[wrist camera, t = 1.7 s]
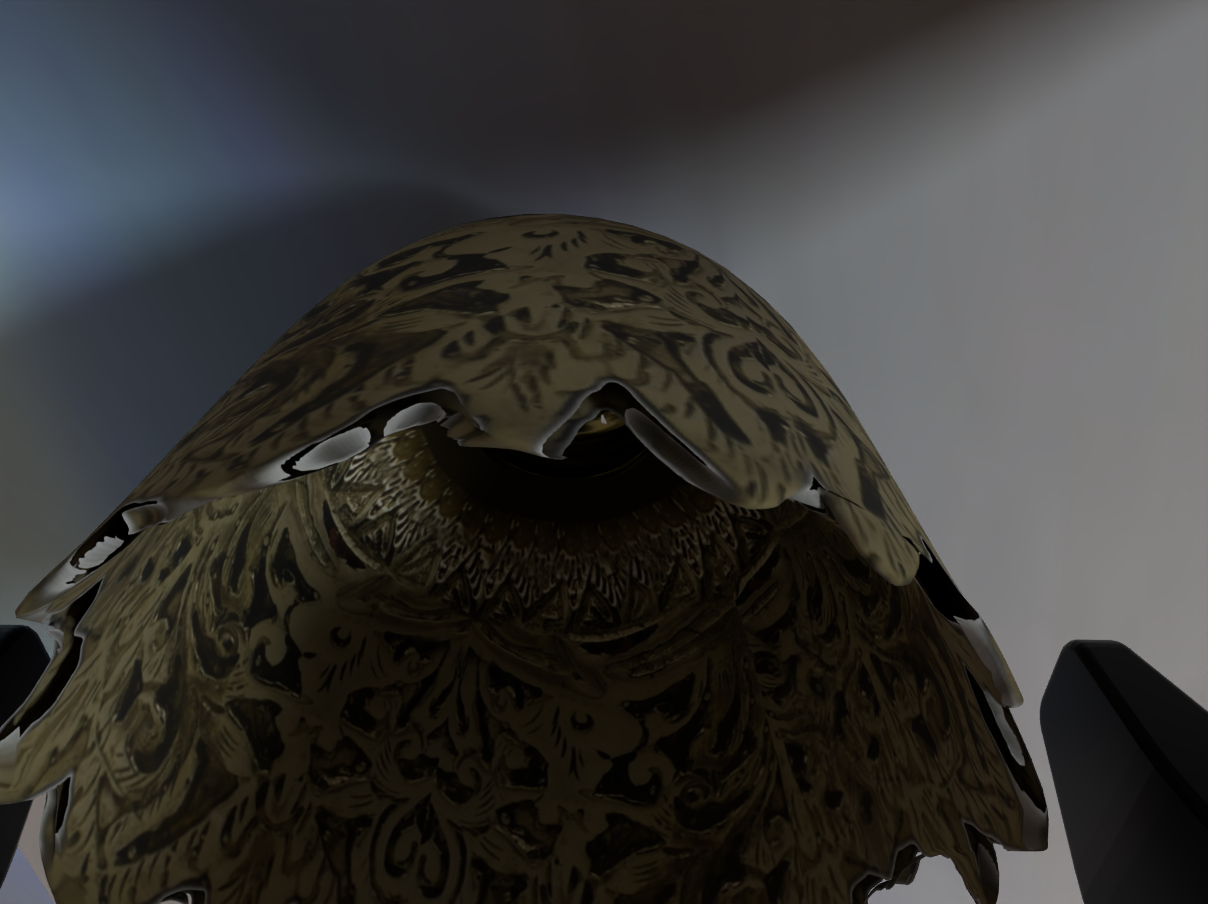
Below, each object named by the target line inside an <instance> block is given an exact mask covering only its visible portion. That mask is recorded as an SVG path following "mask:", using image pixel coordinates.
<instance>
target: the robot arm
mask: <svg viewBox="0 0 1208 904" xmlns="http://www.w3.org/2000/svg"><path fill="white" fill-rule="evenodd" d="M50 661H51V659H50V657H49V655H48V653H47V651H46V649H45V647H44V645H43V643H42V641H41V639H40V637H39V636H38V634H37V633H36V632H35V631H34V630H33V629H31V628H30V627H28V626H24V625H0V728H1V726H2V725H3V724H4V723H5V722H6V721H7V720H8V719H9V718H10V717H11V716H12V715H13V714H14V713H15V712H16V710H17V709H18V708H19V707H20V706H21V705H22V704H23V703H24V702H25V700H26V699H27V698H28V696H29V695H30V694H31V692H32V690H33V689H34V687H35V686H36V684H37V682H38V681H39V679H40V678H41V676H42V674H43V673H44V671H45V669H46V668H47V666H48V664H49V663H50ZM1040 725H1041V730H1042V735H1043V739H1044V743H1045V747H1046V752H1047V756H1048V760H1049V764H1050V768H1051V772H1052V777H1053V781H1054V785H1055V789H1056V793H1057V798H1058V802H1059V806H1060V810H1061V814H1062V818H1063V823H1064V827H1065V831H1066V835H1067V839H1068V844H1069V848H1070V852H1071V856H1072V860H1073V864H1074V869H1075V873H1076V876H1077V880H1078V884H1079V888H1080V891H1081V895H1082V899H1083V902H1084V904H1208V711H1207V710H1205V709H1204V708H1203V707H1202V706H1200V705H1199V704H1198V703H1197V702H1195V701H1194V700H1193V699H1192V698H1190V697H1189V696H1188V695H1187V694H1185V693H1184V692H1183V691H1182V690H1181V689H1179V688H1178V687H1177V686H1176V685H1174V684H1173V683H1172V682H1171V681H1169V680H1168V679H1167V678H1166V677H1164V676H1163V675H1162V674H1161V673H1159V672H1158V671H1157V670H1156V669H1155V668H1153V667H1152V666H1151V665H1150V664H1148V663H1147V662H1146V661H1145V660H1143V659H1142V658H1141V657H1140V656H1138V655H1137V654H1136V653H1135V652H1133V651H1132V650H1131V649H1130V648H1128V647H1127V646H1125V645H1124V644H1122V643H1120V642H1117V641H1113V640H1072V641H1070V642H1068V643H1067V644H1066V645H1065V646H1064V647H1063V649H1062V651H1061V653H1060V655H1059V658H1058V660H1057V663H1056V665H1055V668H1054V670H1053V673H1052V675H1051V678H1050V680H1049V683H1048V685H1047V688H1046V690H1045V693H1044V695H1043V698H1042V701H1041V706H1040ZM33 800H34V799H32V800H27V801H22V802H17V803H12V804H3V805H0V889H1V886H2V884H3V882H4V879H5V877H6V875H7V872H8V869H9V867H10V864H11V862H12V859H13V856H14V854H15V851H16V849H17V846H18V843H19V840H20V837H21V834H22V831H23V829H24V826H25V823H26V820H27V817H28V814H29V811H30V808H31V806H32V803H33Z"/></svg>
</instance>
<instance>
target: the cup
mask: <svg viewBox="0 0 1208 904" xmlns="http://www.w3.org/2000/svg"><path fill="white" fill-rule="evenodd" d="M76 563H77V566H76V567H75V568H74V567H73V566H74V565H75V564H76ZM15 613H16V618H19V619H25V620H30V621H34V622H38V623H42V624H44V621H45V620H46V619H48V623H47V624H48V625H50V626H53V627H55V628H57V629H50V630H47V631H46V633H48V634H49V635H50V636H51V637H53V638H54V639H55V646H54V653H53V656H52V659H51V661H50V663H49V664H48V666H47V668H46V669H45V671H44V673H43V674H42V676H41V678H40V679H39V681H38V682H37V684H36V686H35V687H34V689H33V690H32V692H31V694H30V695H29V696H28V698H27V699H26V700H25V702H24V703H23V704H22V705H21V706H20V707H19V708H18V709H17V710H16V712H15V713H14V714H13V715H12V716H11V717H10V718H9V719H8V720H7V721H6V722H5V723H4V724H3V725H2V726H1V728H0V805H3V804H12V803H17V802H22V801H27V800H32V799H35V798H37V797H39V796H41V795H43V794H45V793H46V802H45V806H44V812H43V815H42V818H41V825H40V832H39V847H40V853H41V859H42V863H43V867H44V871H45V875H46V878H47V882H48V884H49V887H50V889H51V892H52V894H53V897H54V899H55V902H56V904H159V903H161V902H165V901H178V902H180V903H182V904H189V901H188V896H187V895H186V894H190V895H191V899H192V901H191V904H868V898H869V897H870V896H871V895H872V894H873V893H874V892H875V891H876V890H880V891H881V890H882V889H884V888H886V890H887V889H891V888H892V887H893V886H894V884H905V885H909V884H910V883H912V882H913V880H914V878H915V875H916V873H917V870H918V867H919V863H920V860H921V859H922V858H924V857H925V856H927V857H934V856H937V855H942V856H944V857H946V858H951V860H952V862H953V863H954V865H955V868H956V870H957V871H958V872H959V874H960V875H961V876H962V878H963V881H964V884H965V887H966V889H967V890H968V892H969V893H970V895H971V896H972V898H973V899H974V901H975V903H976V904H996V901H997V898H998V893H999V870H998V863H997V857H996V852H995V850H994V847H993V843H997V844H1000V845H1002V846H1003V847H1004V849H1006V850H1007V851H1044V850H1046V849H1047V848H1048V821H1049V819H1048V810H1047V805H1046V801H1045V797H1044V793H1043V788H1042V786H1041V783H1040V781H1039V778H1038V776H1037V773H1036V770H1035V768H1034V765H1033V762H1032V759H1031V757H1030V755H1029V752H1028V750H1027V748H1026V745H1025V743H1024V741H1023V739H1022V736H1021V734H1020V732H1019V729H1018V727H1017V725H1016V723H1015V721H1014V719H1013V716H1012V714H1011V712H1010V710H1009V708H1015V707H1019V706H1021V705H1022V704H1023V697H1022V695H1021V692H1020V690H1019V688H1018V686H1017V683H1016V681H1015V679H1014V677H1013V675H1012V673H1011V671H1010V669H1009V667H1008V665H1007V662H1006V660H1005V658H1004V657H1003V655H1002V653H1001V651H1000V649H999V647H998V645H997V643H996V642H995V640H994V638H993V636H992V634H991V633H990V631H989V629H988V628H987V626H986V625H985V623H984V621H983V620H982V618H981V616H980V615H979V614H978V613H977V612H976V611H975V609H974V608H973V607H972V606H971V605H970V604H969V603H968V602H967V600H966V599H965V598H964V597H963V595H962V594H961V592H960V591H959V589H958V588H957V586H956V584H955V583H954V581H953V580H952V578H951V576H950V575H949V573H948V571H947V570H946V568H945V566H944V564H943V563H942V561H941V559H940V558H939V556H938V554H937V552H936V551H935V549H934V547H933V546H932V544H931V542H930V540H929V539H928V537H927V535H926V534H925V532H924V530H923V528H922V527H921V525H920V523H919V522H918V520H917V518H916V516H915V515H914V513H913V511H912V510H911V508H910V506H909V504H908V503H907V501H906V499H905V498H904V496H903V494H902V492H901V491H900V489H899V487H898V486H897V484H896V482H895V480H894V479H893V477H892V475H891V474H890V472H889V470H888V468H887V467H886V465H885V463H884V462H883V460H882V458H881V457H880V455H879V453H878V451H877V450H876V448H875V446H874V445H873V443H872V441H871V440H870V438H869V436H868V435H867V433H866V431H865V430H864V428H863V426H862V425H861V423H860V421H859V420H858V418H857V416H856V415H855V413H854V412H853V410H852V408H851V407H850V405H849V403H848V402H847V400H846V399H845V397H844V396H843V394H842V393H841V391H840V390H839V388H838V387H837V385H836V384H835V382H834V381H833V379H832V378H831V376H830V375H829V373H828V372H827V371H826V369H825V368H824V367H823V365H822V364H821V363H820V362H819V360H818V359H817V358H816V356H815V355H814V354H813V353H812V351H811V350H810V349H809V348H808V346H807V345H806V344H805V343H804V341H803V340H802V339H801V338H800V336H799V335H798V334H797V333H796V331H795V330H794V329H793V328H792V326H791V325H790V324H789V323H788V322H787V321H786V320H785V319H784V318H783V317H782V316H781V315H780V314H779V313H778V312H777V311H776V310H775V309H774V308H773V307H772V306H771V305H770V304H769V303H768V302H767V301H766V300H764V299H763V298H762V297H761V296H760V295H759V294H757V293H756V292H755V291H754V290H753V289H752V288H750V287H749V286H748V285H747V284H745V283H744V282H743V281H741V280H740V279H739V278H738V277H736V276H735V275H734V274H732V273H731V272H730V271H729V270H727V269H726V268H724V267H723V266H721V265H719V264H718V263H716V262H715V261H713V260H711V259H710V258H708V257H706V256H705V255H703V254H701V253H700V252H698V251H696V250H694V249H692V248H690V247H687V246H685V245H683V244H681V243H679V242H676V241H674V240H672V239H670V238H668V237H665V236H662V235H659V234H656V233H653V232H650V231H647V230H644V229H641V228H638V227H635V226H632V225H628V224H623V223H618V222H614V221H609V220H605V219H600V218H593V217H584V216H574V215H565V214H524V215H515V216H506V217H497V218H489V219H485V220H480V221H476V222H471V223H467V224H462V225H458V226H455V227H452V228H449V229H446V230H443V231H440V232H437V233H435V234H432V235H429V236H426V237H424V238H422V239H420V240H418V241H415V242H413V243H411V244H409V245H407V246H405V247H403V248H401V249H399V250H397V251H395V252H393V253H391V254H389V255H387V256H385V257H384V258H382V259H380V260H378V261H376V262H375V263H373V264H372V265H370V266H368V267H367V268H365V269H364V270H362V271H361V272H359V273H358V274H356V275H355V276H353V277H352V278H350V279H348V280H347V281H346V282H345V283H343V284H342V285H341V286H339V287H338V288H337V289H336V290H334V291H333V292H332V293H330V294H329V295H328V296H327V297H325V298H324V299H323V300H322V301H321V302H320V303H318V304H317V305H316V306H315V307H314V308H313V309H311V310H310V311H309V312H308V313H307V314H305V315H304V316H303V317H302V318H301V319H300V320H299V321H297V322H296V323H295V324H294V325H293V326H292V327H291V328H290V329H289V330H288V331H287V332H286V333H285V334H284V335H282V336H281V337H280V338H279V339H278V340H277V341H276V342H275V343H274V344H273V345H272V346H271V347H270V348H269V349H268V350H267V351H266V352H265V353H264V354H263V355H262V356H261V357H260V358H259V359H258V360H257V361H256V362H255V363H254V364H253V365H252V366H251V367H250V368H249V369H248V370H247V371H246V372H245V374H244V375H243V376H242V377H241V378H240V379H239V380H238V381H237V382H236V383H235V384H234V385H233V386H232V387H231V388H230V389H229V390H228V391H227V392H226V393H225V394H224V395H223V396H222V397H221V398H220V399H219V401H218V402H217V403H216V404H215V405H214V406H213V407H212V408H211V409H210V410H209V411H208V412H207V413H206V414H205V415H204V416H203V417H202V418H201V419H200V420H199V421H198V423H197V424H196V425H195V426H194V427H193V428H192V429H191V430H190V431H189V432H188V433H187V434H186V435H185V436H184V437H183V438H182V440H181V441H180V442H179V443H178V444H177V445H176V446H175V447H174V448H173V449H172V450H171V451H170V452H169V453H168V454H167V455H166V456H165V458H164V459H163V460H162V461H161V462H160V463H159V464H158V465H157V466H156V467H155V468H154V469H153V470H152V471H151V472H150V473H149V475H148V476H147V477H146V478H145V479H144V480H143V481H142V482H141V483H140V484H139V485H138V486H137V487H136V488H135V489H134V490H133V492H132V493H131V494H130V495H129V496H128V497H127V498H126V499H125V500H124V501H123V502H122V503H121V504H120V505H119V506H118V507H117V508H116V510H115V511H114V512H113V513H112V514H111V515H110V516H109V517H108V518H107V519H106V520H105V521H104V522H103V523H102V524H101V525H100V526H99V527H98V528H97V529H96V530H95V531H94V532H93V533H92V534H91V535H90V536H89V537H88V538H87V539H86V540H85V541H84V542H83V543H82V544H81V545H79V546H78V547H77V548H76V549H75V550H74V551H73V552H72V553H71V554H70V555H69V556H68V557H66V558H65V559H64V560H63V561H62V562H61V563H60V564H59V565H58V566H57V567H56V568H55V569H53V570H52V571H51V572H50V573H49V574H48V575H47V576H46V577H45V578H44V579H43V580H42V581H41V582H40V583H39V584H38V585H37V586H36V587H34V588H33V589H32V590H31V591H30V592H29V593H28V595H27V596H26V597H25V599H24V600H23V601H22V603H21V604H20V605H19V607H18V608H17V609H16V611H15ZM918 852H921V853H922V854H921V855H919V856H917V857H916V854H917V853H918ZM891 878H892V879H891ZM883 879H885V880H888V881H885V882H883V883H880V882H881V881H882V880H883ZM890 879H891V880H890ZM879 883H880V884H879ZM877 884H878V885H877ZM876 885H877V886H876ZM875 886H876V887H875ZM874 887H875V888H874ZM872 888H874V889H873V890H872V891H871V892H870V890H871V889H872ZM869 892H870V893H869ZM868 893H869V895H868Z"/></svg>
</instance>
